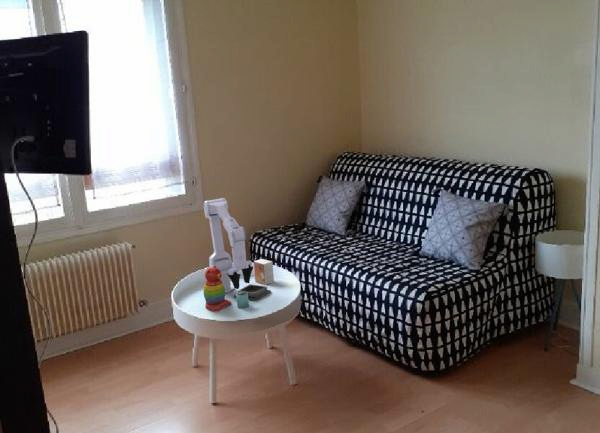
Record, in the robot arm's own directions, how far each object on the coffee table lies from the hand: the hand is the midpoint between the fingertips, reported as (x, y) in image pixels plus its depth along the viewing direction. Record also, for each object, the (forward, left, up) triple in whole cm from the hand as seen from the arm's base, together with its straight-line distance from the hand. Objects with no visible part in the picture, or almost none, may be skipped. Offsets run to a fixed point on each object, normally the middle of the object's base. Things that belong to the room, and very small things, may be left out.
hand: (241, 285), depth 262 cm
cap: (0, 0, -10) cm, 10 cm away
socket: (-4, +13, -9) cm, 16 cm away
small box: (-9, +30, -10) cm, 33 cm away
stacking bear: (-12, -5, -10) cm, 16 cm away
